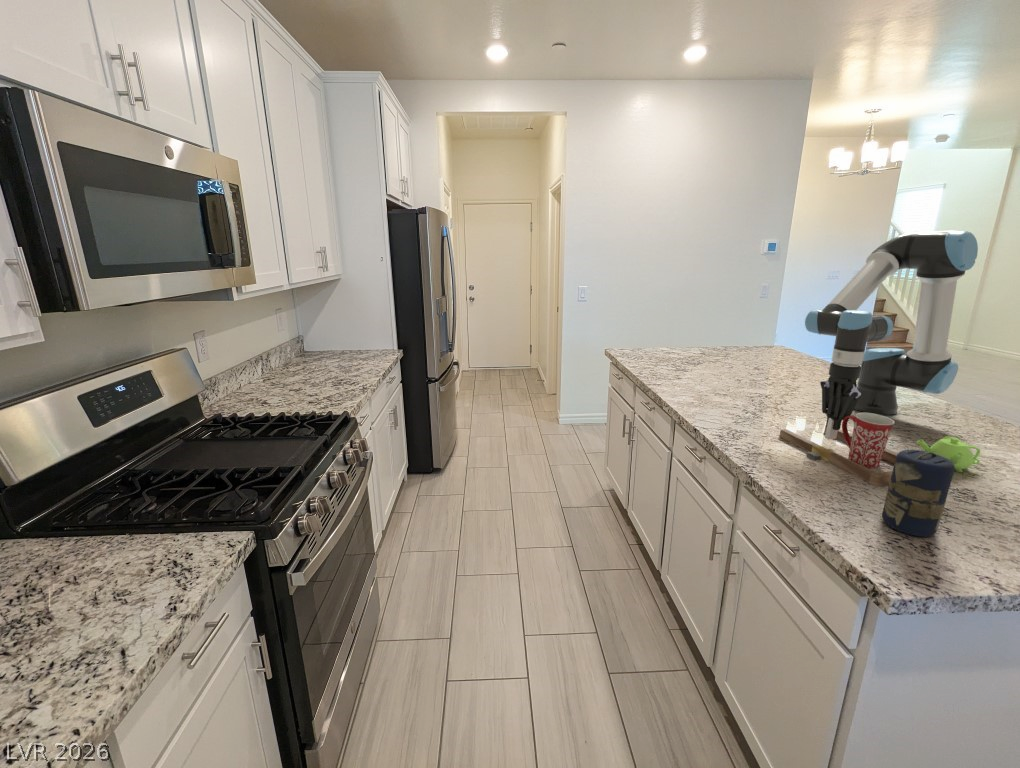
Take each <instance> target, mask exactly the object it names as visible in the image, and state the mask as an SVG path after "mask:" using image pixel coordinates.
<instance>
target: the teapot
mask: <svg viewBox="0 0 1020 768" xmlns="http://www.w3.org/2000/svg"><path fill="white" fill-rule="evenodd" d="M916 443H917V445H919V446H920V448H922V450H923V451H926V452H932V453H935V454H938V455H940V456H943V457H945V458H947V459H949V460H950V461H951V462H952V463H953V464H954V466H955V470H954V472H958V473H964V471H963V470H964V469H968V468H970V467H971V466H973V465H979V464H980V462H981V461H980V459H979V458H978V457H979V456H980V454H981V450H980V448H979V447H978V446H976V445H968V444H967V443H966V442H965V441H964V442H963V441H961V440H960V438H957V437H953V436H947V435H946V436H944V438H940V439H939V440H937V441H935V442H934V443H933V444H931V446H929V445H928V444H927V443H926V441H924V440H923V439H918V440H917V441H916ZM971 449H975V450H976V453H975V454H974V455H973V452H972V450H971Z"/></svg>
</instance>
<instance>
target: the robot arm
mask: <svg viewBox="0 0 1020 768" xmlns="http://www.w3.org/2000/svg"><path fill="white" fill-rule="evenodd" d="M978 246H979V244H978V242H977V238H976V236H975V235H974V233H972V232H970V231H968V230H967V231H966V230H937V231H936V230H932V231H910V232H906V233H905V232H904V233H903V234H899V235H897V236H894V237H893V238H891V239H889V240H888V241H885V242H884V243H883V244H881V245H879V246H878V247H876V249H875V250H873V251H872V252H871V253H870V254H869V255H868V256H867V258H866V261H865V264H864V265H863V267H862V268H860V270H858V272H856V274H855V275H854V276H853V277H852V278H850V280H849V282H847V284H846V285H845V286H844V287H843V288H842V289H841V290H840V291H839V292H838V293H837V294H836V295H835V296H834V297H833V298H832V299H831V301H830V302H829V303H828V304H827V305H826V306H825V307H823V309H813V310H810V311H809V312H808V313H807V315H806V317H805V319H804V325H805V326H804V327H805V329H806V331H808V332H809V333H813V334H817V335H824V336H825V335H826V336H831V337H835V340H834V345H833V351H832V356H831V363H830V364H829V365H830V366H829V369H828V375H829V377H828V378H827V380H825V381H822V380H821V381H820V382H819V384H820V387H821V412H822V413H823V414H825V415H826V423H825V426H826V427H827V429H826V433H824V434H825V435H824V438H825V439H827V440H828V441H829V440H835V439H837V438H836V437H837V432H838V430H839V429H841V427H842V422H843V419H844V418H845V417H847V416H852V413H853V411H854V410H856V411H859V412H861V413H873V414H878V415H882V416H885V415H888V416H890V415H895V414H897V412H898V409H899V404H898V400H897V394H896V393H897V392H896V390H897V387H899V388H903V389H908V390H913V391H918V392H922V393H924V394H926V393H928V394H934V395H940V394H942V393H944V392H946V391H947V390H948V389H949V388H950V386H951V385H952V384H953V382H954V380H955V378H956V377H957V375H958V371H959V364H958V363H957V362H955V361H952V354H951V353H950V352H949V351H948V350H947V348H948V343H949V336H950V328H951V322H952V317H953V316H952V315H953V309H954V303H955V298H956V290H957V284H958V280H959V279H961V278H962V277H963V276H965V274H966V271H968V270H971V269H972V268H973V267H974V265H975V263H976V259H978V258H977V257H978V250H979V247H978ZM902 269H903V270H904V269H909V270H911V269H912V270H913V269H914V270H916V274H915V275H916V277H917V279H919V280H920V282H921V283H920V291H919V299H918V306H917V307H918V308H917V313H916V314H917V315H916V323H915V328H914V329H915V330H914V339H913V344H912V345H913V346H912V348H911V349H910V350H908V351H905V349H902V348H896V347H894V348H891V347H879V348H878V347H877V348H869V349H866V347H867V343H868V342H877V341H878V342H879V341H881V340H884V339H887V338H888V337H890V336H891V334H892V333H893V332H894V323H893V321H892V319H891V318H890V317H888V316H886V315H883V314H872V312H870V311H867V310H858V309H859V308H860V307H861V306H862V305H863V304H864V303H865V302H866V300H868V299H869V297H870V296H871V295H872V294H873V293H874V292H875V291H876V290H877V288H878V287H880V285H881V284H882V283H883V282H884V281H885V280H887V278H888V277H890V276H892V275H895V273H897V272H898V271H899V270H902ZM857 380H858V381H857Z"/></svg>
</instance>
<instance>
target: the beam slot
mask: <svg viewBox="0 0 1020 768" xmlns="http://www.w3.org/2000/svg"><path fill="white" fill-rule="evenodd" d="M826 429H827V427H826V425H825V426H824V431H823V432H824V434H826ZM848 433H849V436H850V438H851V440H852V434H853V433H850V432H848ZM779 438H781V439H783V440H785V441H787V442H789V443H791V444H793V445H794V446H797V447H798V448H801V449H803V450H804V451H807V452H806V457H808V458H809V459H811V460H814V461H818V460H821V459H822V460H824V461H826V462H827V463H830V464H832V465H834V466H836V467H838V468H840V469H842V470H844V471H845V472H847V473H849V474H851V475H853V476H855V477H857V478H859V479H861V480H863V481H865V482H867V483H869V484H871V485H873V486H875V487H880V486H889V483H890V479H891V476H892V472H893V470H892V471H885V472H884V471H883V472H876V471H874V470H872V469H869V467H864V466H862V465H860V464H857V463H855V462H853V461H851V460H849V459H848V457H845V456H843V455H841V454H838V453H836V452H834V451H833V450H830V449H829V448H827V447H824V446H822V445H820V444H818V443H816V442H814V441H811V440H810V439H807V438H806V437H803V436H801V435H799V434H797V433H795V432H792V431H790V430H789V429H786V428H784V429H780V432H779ZM836 439H838V440H840V441H842V442H845V443H846V444H847V442H846V440H845V437H844V435H843V431H842V428H840V429H839V430H838V432H837V437H836ZM898 453H899V452H895V451H893V450H891V449H889V448H887V447H885V450H884V452H883V455H882V458H881V460H885V461H887V462H889V463H892V464H893V465H894V464H895V460H896V457H897V454H898Z"/></svg>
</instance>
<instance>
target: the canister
mask: <svg viewBox="0 0 1020 768" xmlns="http://www.w3.org/2000/svg"><path fill="white" fill-rule="evenodd" d="M897 453H898V454H897V457H896V460H895V464H894V463H893V469H892V471H893V472H892V476H891V479H890V483H889V485H888V488H887V491H886V497H885V501H884V505H883V508H882V509H883V510H882V519H883V521H884V522H885V524H886V525H888V526H889V527H890V528H893V529H894V530H896V531H899V532H901V533H904V534H906V535H911V536H914V537H915V536H916V537H932V536H934V535H935V534H936V533H937V532H938V530H939V527H940V522H941V519H942V516H943V512H944V509H945V506H946V502H947V497H948V494H949V491H950V487H951V484H952V480H953V477H954V473H955V466H954V464H953V463H952V462H951V461H950V460H949V459H947V458H945V457H943V456H940V455H938V454H935V453H932V452H926V451H925V450H920V449H919V450H918V449H904V450H901V451H899V452H897Z"/></svg>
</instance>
